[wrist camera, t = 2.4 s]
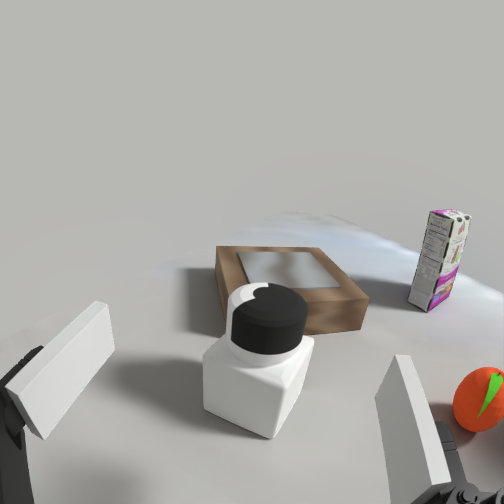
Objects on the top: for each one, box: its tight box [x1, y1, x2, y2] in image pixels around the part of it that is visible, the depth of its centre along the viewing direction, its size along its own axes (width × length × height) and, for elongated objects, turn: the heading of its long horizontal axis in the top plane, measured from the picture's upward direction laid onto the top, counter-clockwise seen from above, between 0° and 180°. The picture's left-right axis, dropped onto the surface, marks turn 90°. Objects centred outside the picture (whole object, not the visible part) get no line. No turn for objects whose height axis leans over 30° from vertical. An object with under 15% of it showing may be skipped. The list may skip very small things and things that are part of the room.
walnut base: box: [215, 246, 370, 335], centre depth 45 cm, size 18×18×5 cm
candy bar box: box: [407, 209, 471, 312], centre depth 46 cm, size 11×5×16 cm, turn 123°
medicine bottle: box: [203, 283, 314, 439], centre depth 25 cm, size 7×7×12 cm
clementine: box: [453, 367, 504, 432], centre depth 21 cm, size 8×7×7 cm
